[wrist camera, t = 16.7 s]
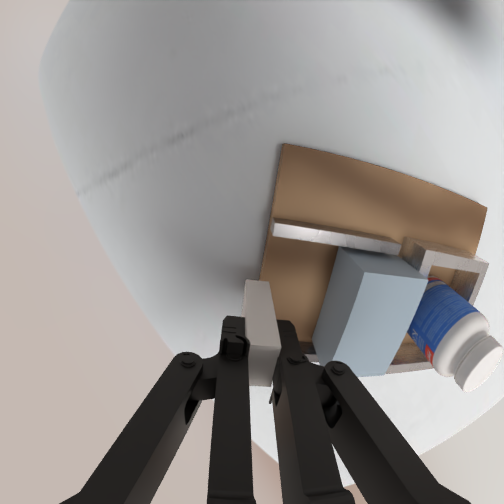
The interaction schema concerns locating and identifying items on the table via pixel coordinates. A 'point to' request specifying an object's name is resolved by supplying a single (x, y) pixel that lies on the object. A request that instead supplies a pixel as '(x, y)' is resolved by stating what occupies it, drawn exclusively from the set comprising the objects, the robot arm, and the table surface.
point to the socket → (463, 283)
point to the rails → (332, 237)
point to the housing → (367, 310)
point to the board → (352, 224)
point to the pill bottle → (454, 336)
